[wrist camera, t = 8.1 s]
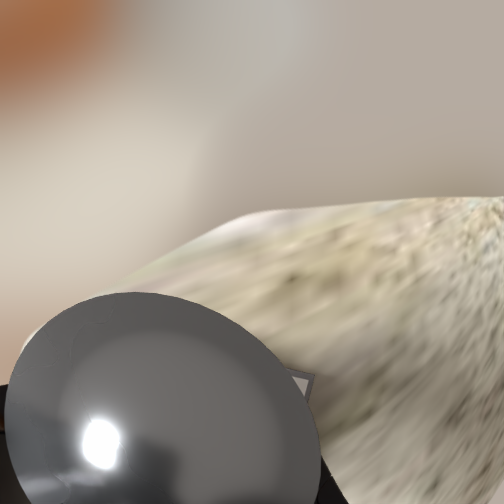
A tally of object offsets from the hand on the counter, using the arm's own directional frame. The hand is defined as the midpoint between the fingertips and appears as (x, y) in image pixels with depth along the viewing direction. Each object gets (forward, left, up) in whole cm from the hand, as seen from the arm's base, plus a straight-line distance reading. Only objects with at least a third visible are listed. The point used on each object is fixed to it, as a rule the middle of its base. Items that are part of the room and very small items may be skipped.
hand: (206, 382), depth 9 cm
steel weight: (-1, 0, -7) cm, 7 cm away
